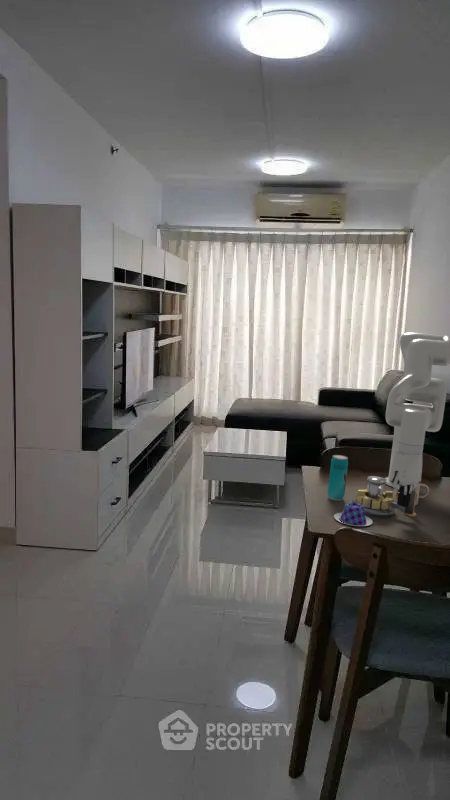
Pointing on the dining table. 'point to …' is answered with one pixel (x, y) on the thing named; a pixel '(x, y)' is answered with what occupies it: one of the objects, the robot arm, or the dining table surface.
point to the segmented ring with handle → (384, 501)
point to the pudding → (353, 515)
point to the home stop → (413, 511)
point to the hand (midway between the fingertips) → (402, 505)
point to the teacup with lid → (417, 489)
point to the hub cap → (374, 490)
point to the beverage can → (337, 477)
